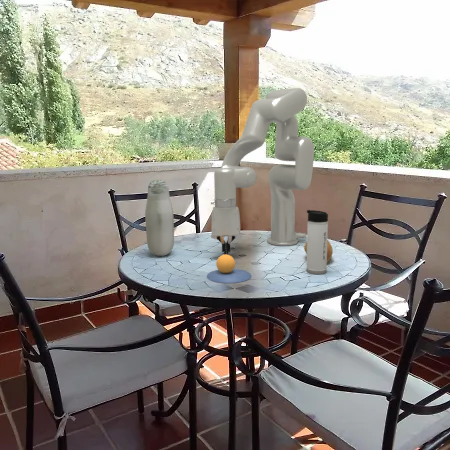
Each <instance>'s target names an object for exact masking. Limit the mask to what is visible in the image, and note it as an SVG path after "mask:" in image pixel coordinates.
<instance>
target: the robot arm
mask: <svg viewBox="0 0 450 450" xmlns="http://www.w3.org/2000/svg"><path fill="white" fill-rule="evenodd" d="M307 103H308V95H307V93H306V91H304V89H302V88H300V87H292V88H283V89H282V88H281V89H276V90H271V91H268V93H266V95H265V98H263V99H257V100H255V101H254V102H253V103H252V105H251V107H250V110H249V113H248V116H247V119H246V122H245V125H244V128H243V132H242V133H241V137H240V138H239V139H237V141H236V142H235V143H233V145H232V146H231V147H230V149H228V150H227V152H226V154H225V156H224V158H223V160H222V164H221V166H220V168H216V169H214V171H213V172H214V174H213V175H214V176H213V177H214V180H213V182H214V183H213V184H214V199H213V200H210V205H212V206H213V205H214V206H213V207H212V209H211V210H212V211H211V224H210V225H211V234H210V238H211V239H214V240H218V241H219V243H221V253H223V255H225V254H226V255H230V254H229V253H230V252H231V244H232V242H233V241H235V240H236V239H237V240H238V239H240V238H241V237H242V235H241V217H240V210H239V207H238V206H237V188H241V189H248V188H251V187H253V186H254V185H255V183H256V181H257V178H258V176H257V172H256V171H255V170H254V168H252V167H249V166H239V164H240V162H241V161H242V160H243V159H244V158H245V157H246V156H247V155H248V154H251V153H252V152H254V151H255V150H257V149H260V148H262V146H263V145H264V144H265V140H266V137H267V134H268V131H269V128H270V125H271V124H272V123H275V126H276V128H275V129H276V130H275V142H274V144H275V145H274V156H275V158H276V159H277V160H279V161H283V162H295V164H284V163H283V164H282V163H281V164H277V165H274V166H272V167H271V168H270V170H269V173H268V183H269V187H270V188H269V189H270V237H267V240H266V242H267V243H268V244H269V245H273V246H280V247H281V246H285V247H286V246H294V245H297V244H298V243H299V239H307V233H306V232H296V230H295V222H296V220H295V219H296V217H295V216H296V215H295V213H296V212H295V211H296V199H295V195H294V193H293V190H294V191H305V190H307V189H308V188H309V187H310V185H311V182H312V178H313V177H312V176H313V168H314V160H315V159H314V158H315V147H314V143H313V141H312V139H311V138H309V137H307V136H299V122H298V119H297V117H296V115H297V114H299V113H301V112H302V111H303V110H304V109H305V108H306V106H307ZM224 237H227V240H225V238H224Z"/></svg>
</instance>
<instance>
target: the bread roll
mask: <svg viewBox="0 0 450 450" xmlns="http://www.w3.org/2000/svg"><path fill="white" fill-rule="evenodd" d="M303 248H304V249H303V250H304V252H305V254H306V255H307V240H306V242H305V244H304V247H303ZM333 252H334V251H333V246H332V244H331V242H330V241H329V239H327V263H328V262H329V261H330V260H331V258H332V256H333Z"/></svg>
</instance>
